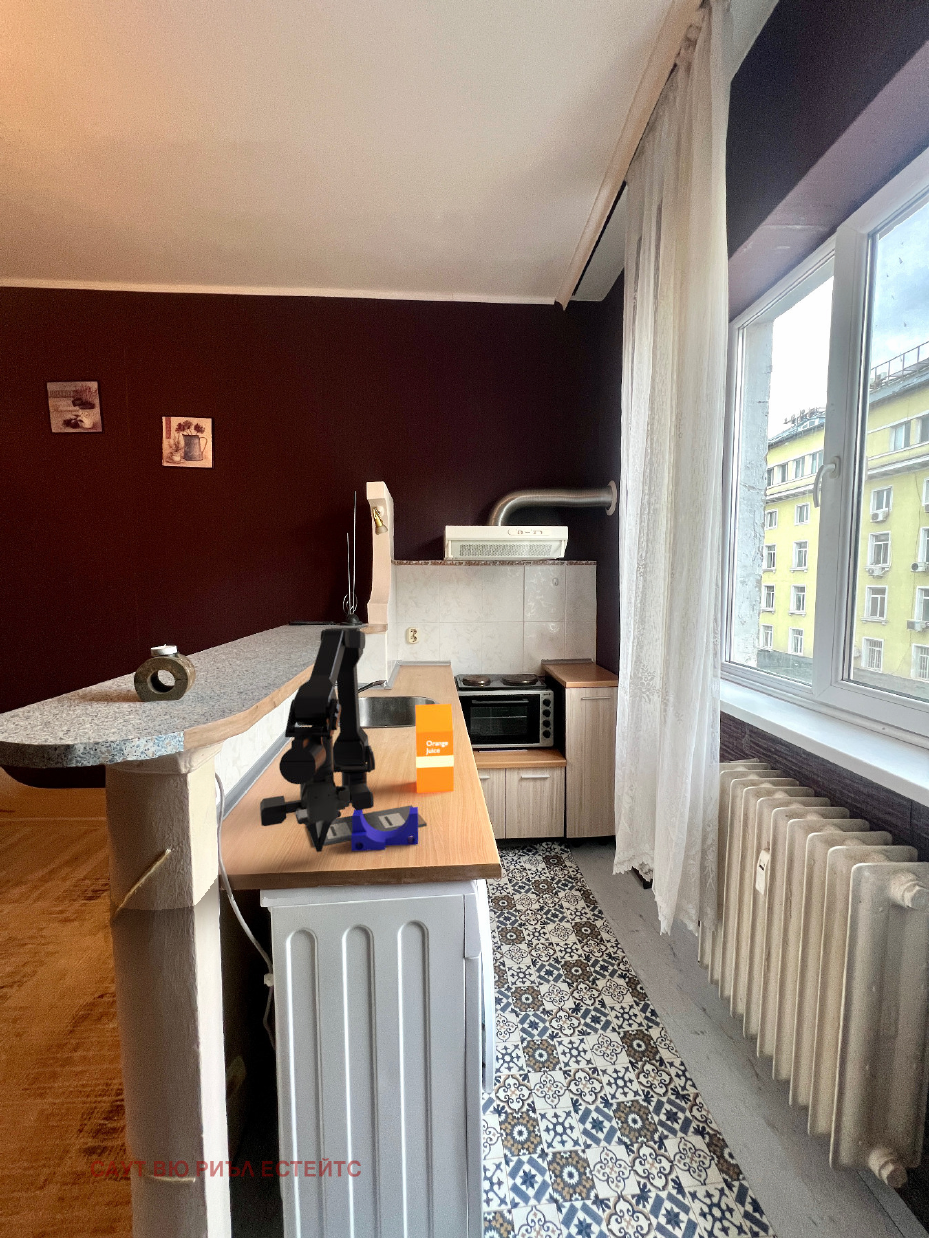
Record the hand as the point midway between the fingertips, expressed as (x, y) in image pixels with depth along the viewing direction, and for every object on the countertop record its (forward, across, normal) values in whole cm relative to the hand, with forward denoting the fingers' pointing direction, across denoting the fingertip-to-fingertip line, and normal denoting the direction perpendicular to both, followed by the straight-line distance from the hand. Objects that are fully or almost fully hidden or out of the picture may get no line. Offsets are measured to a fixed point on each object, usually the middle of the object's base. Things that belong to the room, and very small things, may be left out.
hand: (318, 850), depth 93 cm
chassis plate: (+2, +11, +10) cm, 15 cm away
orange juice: (+2, +31, +25) cm, 40 cm away
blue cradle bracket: (+2, +12, +1) cm, 12 cm away
